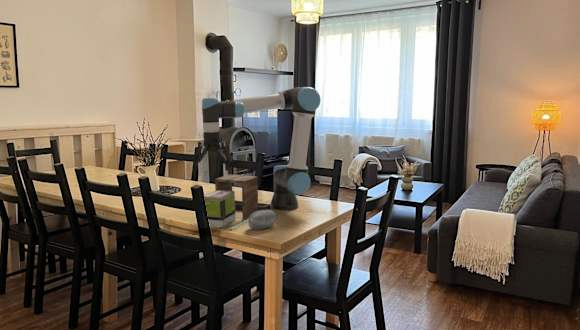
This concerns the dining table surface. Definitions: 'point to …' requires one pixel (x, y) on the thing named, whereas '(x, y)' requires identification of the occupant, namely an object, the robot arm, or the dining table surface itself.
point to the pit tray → (260, 205)
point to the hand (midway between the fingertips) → (213, 176)
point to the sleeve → (247, 191)
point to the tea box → (220, 207)
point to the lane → (235, 225)
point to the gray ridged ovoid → (262, 219)
